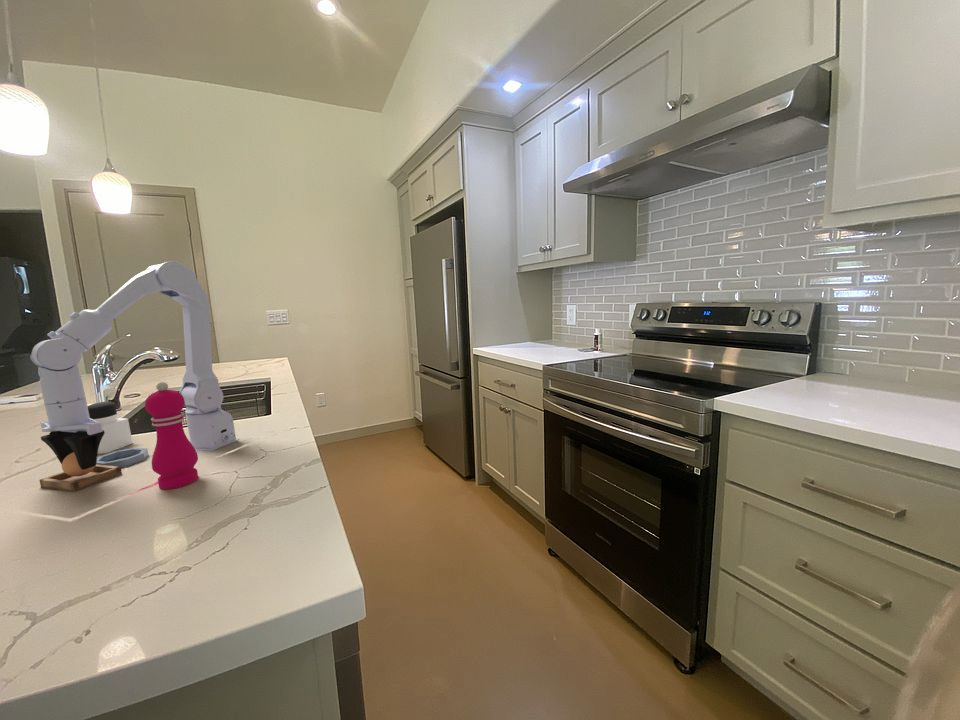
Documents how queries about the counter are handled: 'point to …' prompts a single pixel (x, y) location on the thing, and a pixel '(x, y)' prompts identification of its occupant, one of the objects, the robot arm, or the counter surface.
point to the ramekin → (123, 457)
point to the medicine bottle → (110, 426)
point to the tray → (80, 478)
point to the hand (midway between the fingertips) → (79, 466)
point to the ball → (74, 466)
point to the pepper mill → (171, 439)
